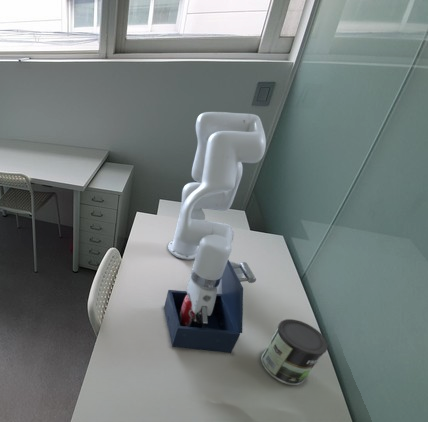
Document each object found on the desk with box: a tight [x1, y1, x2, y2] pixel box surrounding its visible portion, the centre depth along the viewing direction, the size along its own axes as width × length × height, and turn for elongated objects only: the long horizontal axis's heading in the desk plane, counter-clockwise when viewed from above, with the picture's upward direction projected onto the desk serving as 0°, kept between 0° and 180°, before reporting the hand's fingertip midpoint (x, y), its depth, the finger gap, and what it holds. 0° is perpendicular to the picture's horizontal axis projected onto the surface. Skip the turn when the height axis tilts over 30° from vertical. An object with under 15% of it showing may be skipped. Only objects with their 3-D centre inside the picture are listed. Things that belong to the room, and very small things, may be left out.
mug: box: [217, 261, 245, 294], centre depth 106 cm, size 10×7×12 cm, turn 132°
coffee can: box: [260, 318, 329, 386], centre depth 82 cm, size 10×10×14 cm
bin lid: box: [221, 259, 257, 334], centre depth 86 cm, size 18×15×5 cm
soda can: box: [179, 293, 201, 327], centre depth 92 cm, size 7×7×12 cm
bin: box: [163, 289, 241, 354], centre depth 94 cm, size 17×15×9 cm
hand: (191, 317), depth 94 cm, fingers closed on soda can, 7 cm apart
